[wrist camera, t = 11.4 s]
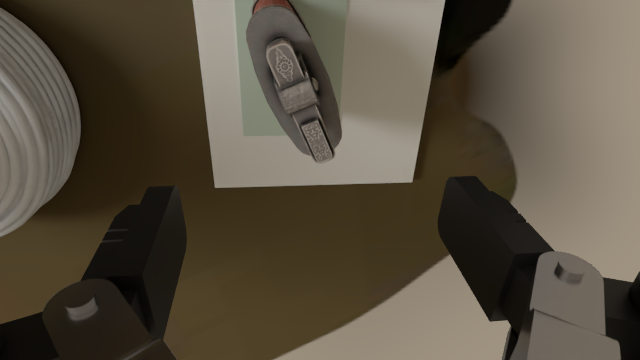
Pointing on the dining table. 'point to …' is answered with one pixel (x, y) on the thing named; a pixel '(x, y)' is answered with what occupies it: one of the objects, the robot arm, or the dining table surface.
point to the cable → (32, 124)
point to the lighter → (294, 78)
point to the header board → (347, 82)
